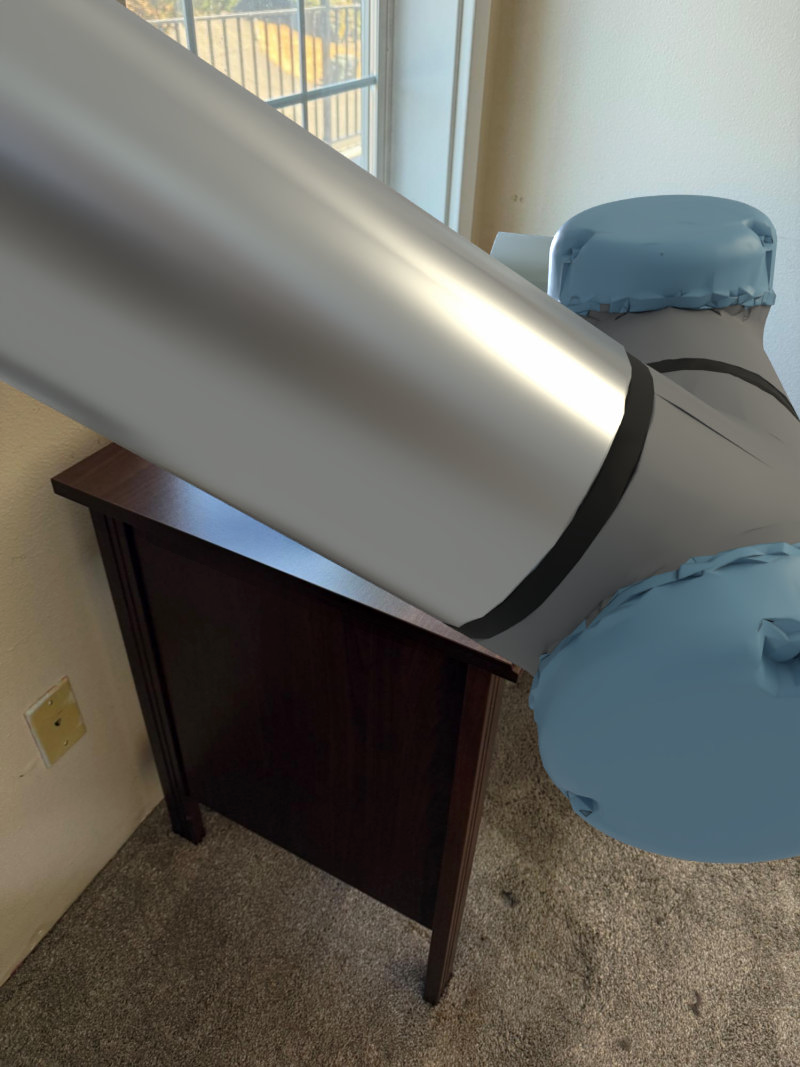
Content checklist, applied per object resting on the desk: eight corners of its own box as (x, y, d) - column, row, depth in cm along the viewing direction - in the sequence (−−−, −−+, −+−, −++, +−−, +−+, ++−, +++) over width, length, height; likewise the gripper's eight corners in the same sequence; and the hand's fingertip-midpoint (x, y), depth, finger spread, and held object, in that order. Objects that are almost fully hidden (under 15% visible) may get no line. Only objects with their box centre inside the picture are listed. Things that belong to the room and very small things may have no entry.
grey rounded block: (491, 301, 125) (500, 221, 117) (606, 313, 123) (624, 232, 115) (476, 355, 108) (485, 266, 100) (609, 371, 106) (629, 281, 98)
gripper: (311, 611, 39) (202, 449, 55) (668, 467, 48) (485, 362, 63) (287, 492, 35) (176, 353, 51) (685, 357, 43) (484, 273, 59)
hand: (348, 358), depth 57 cm, fingers open, 13 cm apart
